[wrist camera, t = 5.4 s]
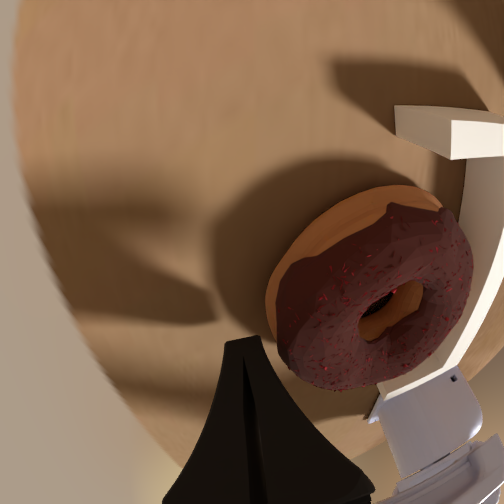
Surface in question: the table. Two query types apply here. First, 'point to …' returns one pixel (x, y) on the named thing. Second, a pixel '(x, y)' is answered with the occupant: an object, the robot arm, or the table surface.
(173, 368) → the table surface
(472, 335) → the stop
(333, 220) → the donut
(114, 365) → the table surface
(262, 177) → the table surface
